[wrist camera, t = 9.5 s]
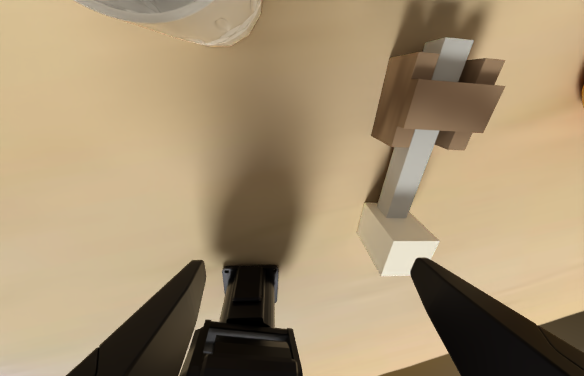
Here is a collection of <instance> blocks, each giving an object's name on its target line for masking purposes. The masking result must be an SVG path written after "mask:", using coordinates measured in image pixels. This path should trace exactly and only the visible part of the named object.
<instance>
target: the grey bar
mask: <svg viewBox="0 0 584 376" xmlns="http://www.w3.org/2000/svg"><path fill="white" fill-rule="evenodd" d="M473 42H474V40H467V39H458V38H448V37H445V38H441V39H437V40H433V41H429V42H425V45H424V49H423V52H427V53H437V54H440V55H439V58H438V61H437V64H436V67H435V70H434V73H433V76H432V79H431V80H437V81H449V82H458V81H459V78H460V76H461V73H462V70H463V68H464V65H465V63H466V60H467V57H468V55H469V52H470V49H471V47H472V44H473ZM438 134H439V131H437V130H420V129H415V131H414V134H413V137H412V140H411V143H410V146H409V148H404V147H394V151H393V154H392V157H391V161H390V164H389V167H388V171H387V174H386V178H385V181H384V184H383V188H382V191H381V195H380V198H379V201H378V203H364V207H363V210H362V214H361V218H360V222H359V226H358V230H357V234H358V236H359V238H360V239H361V241H362V243H363V245H364V247H365V249H366V250H367V252H368V254H369V256H370V258H371V259H372V261H373V263H374V265H375V267H376V268H377V270H378V272H379V274H380V276H411V274H410V271H411V268H412V266H413V264H414V261H415V259H416V258H419V257H425V258H429V259H430V260H431V258H432V256H433V254H434V252H435V250H436V248H437V246H438V244H439V242H440V241H439V240H438V239H437V238H436V237H435V236H434V235H433V234H432V233H431V232H430V231H429V230H428V229H427V228H426V227H425V226H424V225H423V224H421V223H420V222H419V221H418V220H417V219H416V218H415V217H414V216H413V215H412V214H411V213H410V212H409V210H410V207H411V204H412V202H413V199H414V197H415V194H416V191H417V189H418V186H419V183H420V181H421V178H422V176H423V173H424V170H425V168H426V165H427V162H428V160H429V157H430V155H431V152H432V149H433V147H434V144H435V141H436V139H437V136H438Z"/></svg>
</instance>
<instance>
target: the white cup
mask: <svg viewBox="0 0 584 376" xmlns="http://www.w3.org/2000/svg"><path fill="white" fill-rule="evenodd" d="M74 1H76V2H77V3H79V4H81V5H83V6H85V7H87V8H89V9H92V10H94V11H96V12H99V13H101V14H104V15H106V16H109V17H112V18H116V19H119V20H122V21H125V22H128V23H131V24H134V25H138V26H141V27H144V28H146V29H149V30H152V31H155V32H158V33H161V34H164V35H167V36H170V37H174V38H177V39H181V40H185V41H189V42H192V43H196V44H202V45H206V46H209V47H223V46H232V45H234V44H235V43H237V42H239V41H240V40H242V39H243V38H245V37H247V36H248V35H249V34H250V32H251V31H252V29H253V27H254V25H255V23H256V22H257V20H258V18H259V16H260V15H261V10H262V1H263V0H74Z"/></svg>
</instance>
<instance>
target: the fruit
mask: <svg viewBox="0 0 584 376" xmlns="http://www.w3.org/2000/svg"><path fill="white" fill-rule="evenodd" d="M582 103H583V107H584V86H583V89H582Z"/></svg>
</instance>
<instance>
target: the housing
mask: <svg viewBox="0 0 584 376" xmlns="http://www.w3.org/2000/svg"><path fill="white" fill-rule="evenodd" d="M439 55H440V54H437V53H427V52H415V53H410V54H406V55H401V56H396V57H391V58H390V59H389V63H388V68H387V72H386V76H385V80H384V84H383V89H382V93H381V97H380V101H379V105H378V110H377V114H376V118H375V122H374V126H373V131H372V135H371V136H372V137H374V138H376V139H378V140H380V141H382V142H383V143H385V144H387V145H389V146H391V147H404V148H409V146H410V143H411V140H412V137H413V134H414V131H415V129H420V130H437V131H439V134H438V136H437V139H436V141H435V145H437V146H440V147H443V148H445V149H448V150H465V148H466V146H467V144H468V141H469V139H470V137H471V135H472V133H483V132H484V130H485V128H486V126H487V124H488V122H489V119H490V117H491V115H492V113H493V111H494V109H495V107H496V105H497V103H498V100H499V98H500V96H501V94H502V92H503V90H504V88H505V86H498V85H494V84H495V82H496V80H497V77H498V75H499V73H500V71H501V69H502V66H503V64H504V62H505V60H499V59H488V58H484V59H475V60H466V63H465V65H464V68H463V70H462V73H461V76H460V78H459V81H458V82H449V81H437V80H431V79H432V76H433V73H434V70H435V67H436V64H437V61H438V58H439Z"/></svg>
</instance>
